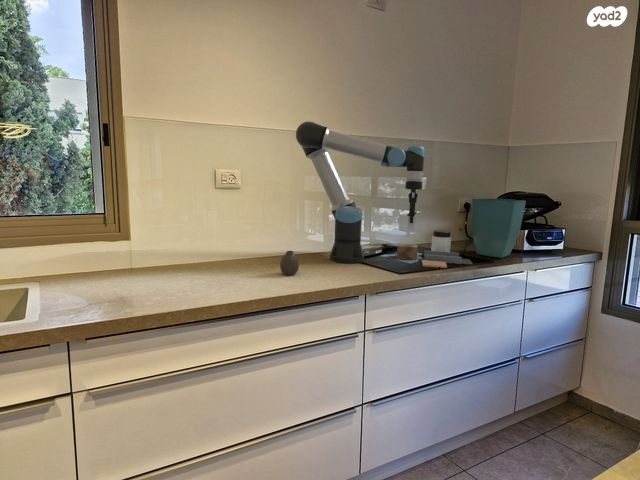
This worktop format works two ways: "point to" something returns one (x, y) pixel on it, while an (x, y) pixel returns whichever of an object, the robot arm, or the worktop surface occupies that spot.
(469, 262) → the trap mat
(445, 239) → the jar
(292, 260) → the vase
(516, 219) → the flower pot
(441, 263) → the block
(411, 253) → the block
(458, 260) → the channel
